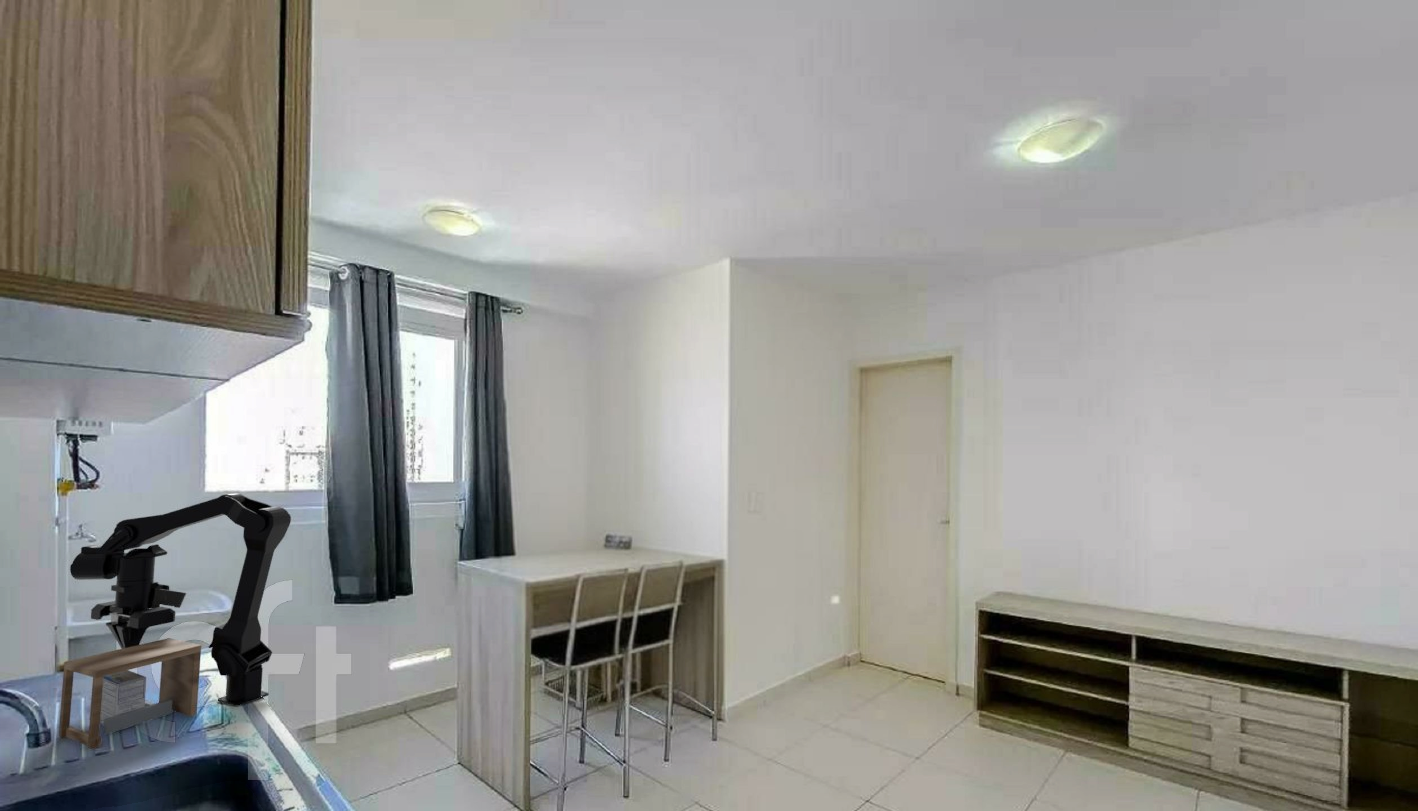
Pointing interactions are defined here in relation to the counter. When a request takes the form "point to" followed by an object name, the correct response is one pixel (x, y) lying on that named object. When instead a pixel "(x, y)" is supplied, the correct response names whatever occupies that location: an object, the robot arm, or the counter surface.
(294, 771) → the counter surface
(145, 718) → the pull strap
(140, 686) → the medicine box
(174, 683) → the walnut shelf
